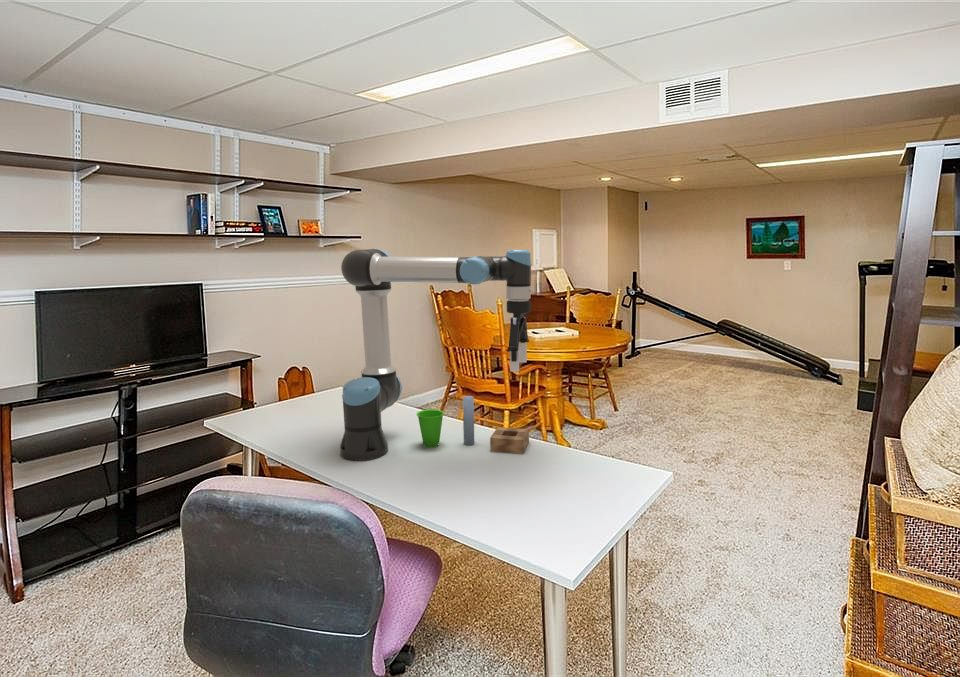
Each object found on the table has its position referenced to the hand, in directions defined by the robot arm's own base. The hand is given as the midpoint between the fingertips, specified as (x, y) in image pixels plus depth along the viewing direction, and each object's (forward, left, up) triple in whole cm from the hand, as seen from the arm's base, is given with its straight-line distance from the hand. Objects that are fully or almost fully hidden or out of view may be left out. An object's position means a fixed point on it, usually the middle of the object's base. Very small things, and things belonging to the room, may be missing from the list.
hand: (518, 366), depth 176 cm
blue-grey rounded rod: (-17, +2, -27) cm, 32 cm away
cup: (-29, -2, -28) cm, 40 cm away
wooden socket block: (-3, +2, -27) cm, 28 cm away
